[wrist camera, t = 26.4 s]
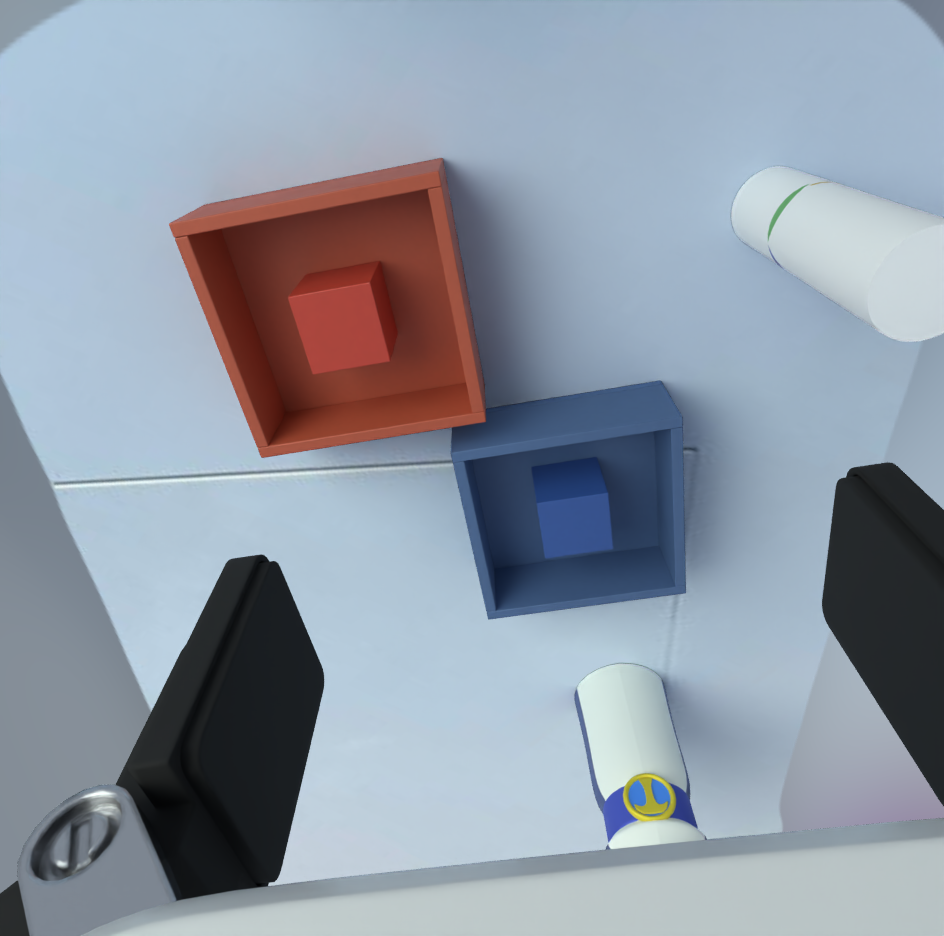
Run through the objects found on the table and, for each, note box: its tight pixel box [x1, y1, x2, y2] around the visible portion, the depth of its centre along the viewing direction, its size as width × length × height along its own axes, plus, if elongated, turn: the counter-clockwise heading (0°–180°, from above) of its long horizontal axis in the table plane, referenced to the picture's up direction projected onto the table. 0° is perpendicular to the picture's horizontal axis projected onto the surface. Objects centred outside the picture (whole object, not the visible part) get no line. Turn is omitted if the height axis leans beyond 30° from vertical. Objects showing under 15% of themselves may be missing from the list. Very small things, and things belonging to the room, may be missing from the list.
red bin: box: [169, 158, 486, 458], centre depth 37 cm, size 13×13×5 cm
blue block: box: [531, 457, 613, 558], centre depth 44 cm, size 4×4×4 cm
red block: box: [288, 261, 398, 375], centre depth 37 cm, size 4×4×4 cm
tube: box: [731, 166, 944, 342], centre depth 31 cm, size 4×4×15 cm
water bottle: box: [575, 664, 707, 850], centre depth 47 cm, size 8×9×25 cm
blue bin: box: [451, 381, 686, 619], centre depth 44 cm, size 13×13×5 cm
